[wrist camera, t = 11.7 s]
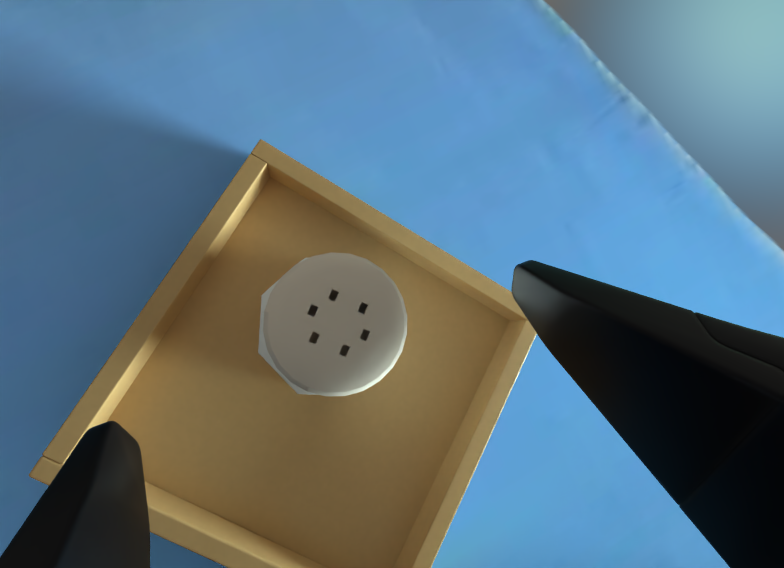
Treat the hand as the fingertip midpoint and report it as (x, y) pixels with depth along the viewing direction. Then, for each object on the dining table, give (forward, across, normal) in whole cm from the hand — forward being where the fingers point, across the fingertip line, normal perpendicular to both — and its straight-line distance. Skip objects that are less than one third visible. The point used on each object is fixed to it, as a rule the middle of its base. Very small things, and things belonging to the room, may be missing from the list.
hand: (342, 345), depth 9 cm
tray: (+6, +1, +9) cm, 11 cm away
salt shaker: (+8, 0, +7) cm, 10 cm away
